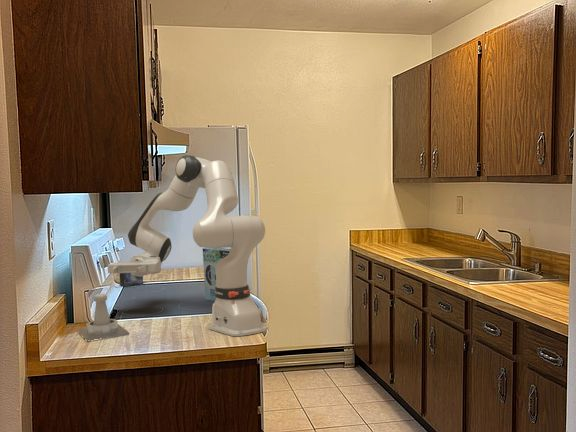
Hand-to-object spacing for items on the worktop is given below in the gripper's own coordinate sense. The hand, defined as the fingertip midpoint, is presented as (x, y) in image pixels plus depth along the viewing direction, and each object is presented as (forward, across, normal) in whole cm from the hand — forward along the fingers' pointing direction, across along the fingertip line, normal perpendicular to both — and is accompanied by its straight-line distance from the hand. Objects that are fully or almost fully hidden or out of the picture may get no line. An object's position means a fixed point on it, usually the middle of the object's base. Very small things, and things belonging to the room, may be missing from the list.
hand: (126, 270), depth 213 cm
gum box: (-29, +30, +19) cm, 45 cm away
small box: (-68, -28, +18) cm, 76 cm away
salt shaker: (+20, -1, +18) cm, 27 cm away
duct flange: (+19, -1, +19) cm, 27 cm away
